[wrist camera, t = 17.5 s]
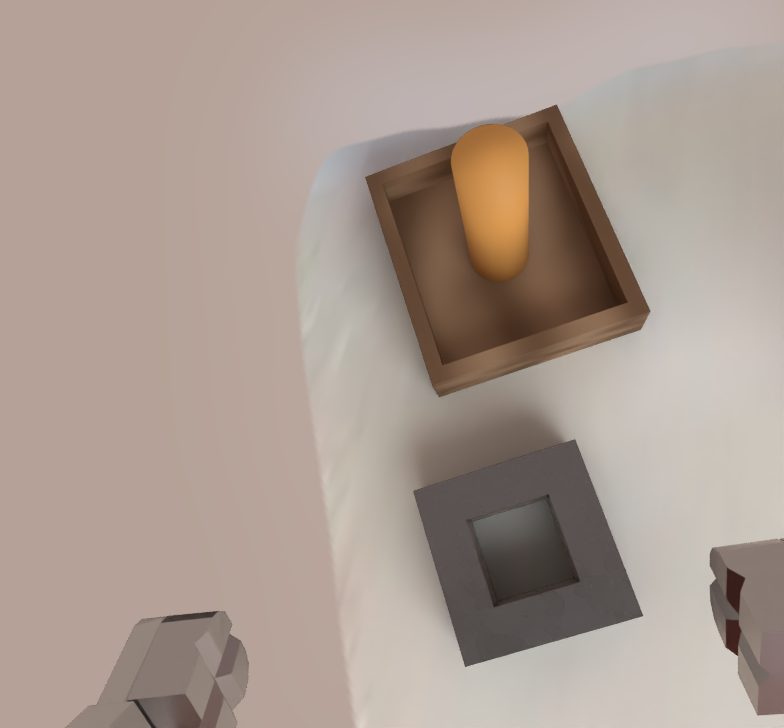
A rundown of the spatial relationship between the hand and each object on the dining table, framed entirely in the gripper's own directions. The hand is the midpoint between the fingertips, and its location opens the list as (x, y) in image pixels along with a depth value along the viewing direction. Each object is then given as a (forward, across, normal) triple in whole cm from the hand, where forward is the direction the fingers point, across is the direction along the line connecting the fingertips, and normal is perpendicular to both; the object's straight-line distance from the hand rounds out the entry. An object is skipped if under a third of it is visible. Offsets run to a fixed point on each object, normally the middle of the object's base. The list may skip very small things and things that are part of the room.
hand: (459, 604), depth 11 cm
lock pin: (+36, -3, +7) cm, 37 cm away
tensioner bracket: (+22, -1, +22) cm, 31 cm away
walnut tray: (+36, -3, +8) cm, 37 cm away
